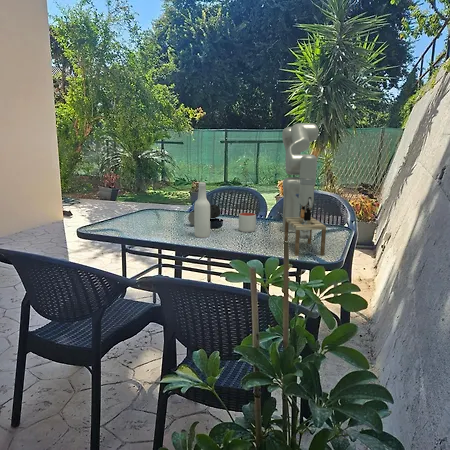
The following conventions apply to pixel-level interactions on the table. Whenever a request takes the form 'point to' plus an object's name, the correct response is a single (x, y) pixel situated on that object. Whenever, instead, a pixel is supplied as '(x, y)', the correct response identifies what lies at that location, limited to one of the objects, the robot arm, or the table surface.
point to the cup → (247, 222)
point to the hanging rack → (311, 225)
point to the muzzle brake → (214, 213)
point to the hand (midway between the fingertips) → (305, 218)
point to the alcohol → (202, 213)
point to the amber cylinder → (304, 233)
